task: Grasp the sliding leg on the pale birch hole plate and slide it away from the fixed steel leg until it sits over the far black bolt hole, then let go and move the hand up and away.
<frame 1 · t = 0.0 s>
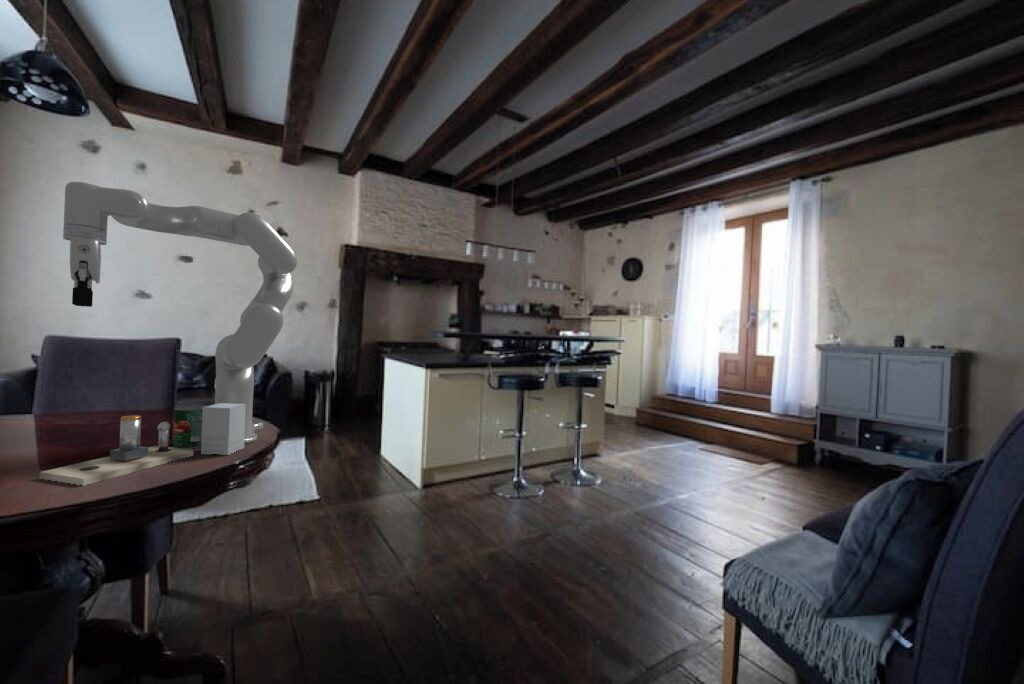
hand: (82, 305, 105), 37 cm above the table, tool pointing down, fingers open, 9 cm apart
hole plate: (124, 466, 100), on the table
supplement box: (222, 452, 116), on the table
canned tomato: (190, 446, 120), on the table
fixed leg: (162, 456, 109), resting on hole plate
sliding leg: (130, 436, 101), point 7 cm above the table, slide at 8.0 cm
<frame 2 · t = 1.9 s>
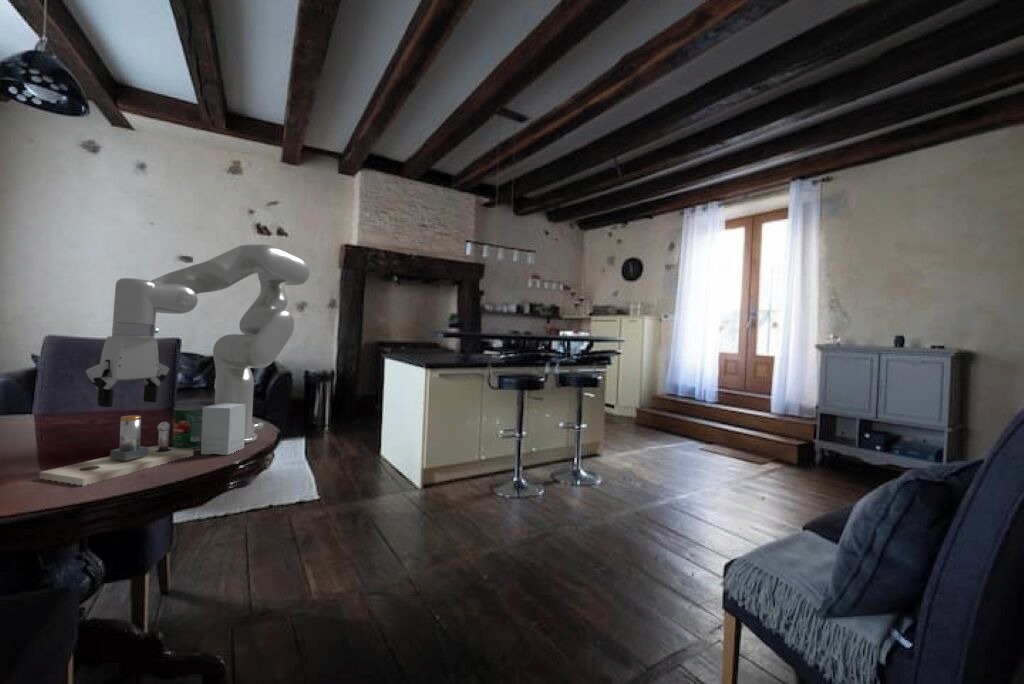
hand: (128, 404, 101), 15 cm above the table, tool pointing down, fingers open, 9 cm apart
nothing on the table moved.
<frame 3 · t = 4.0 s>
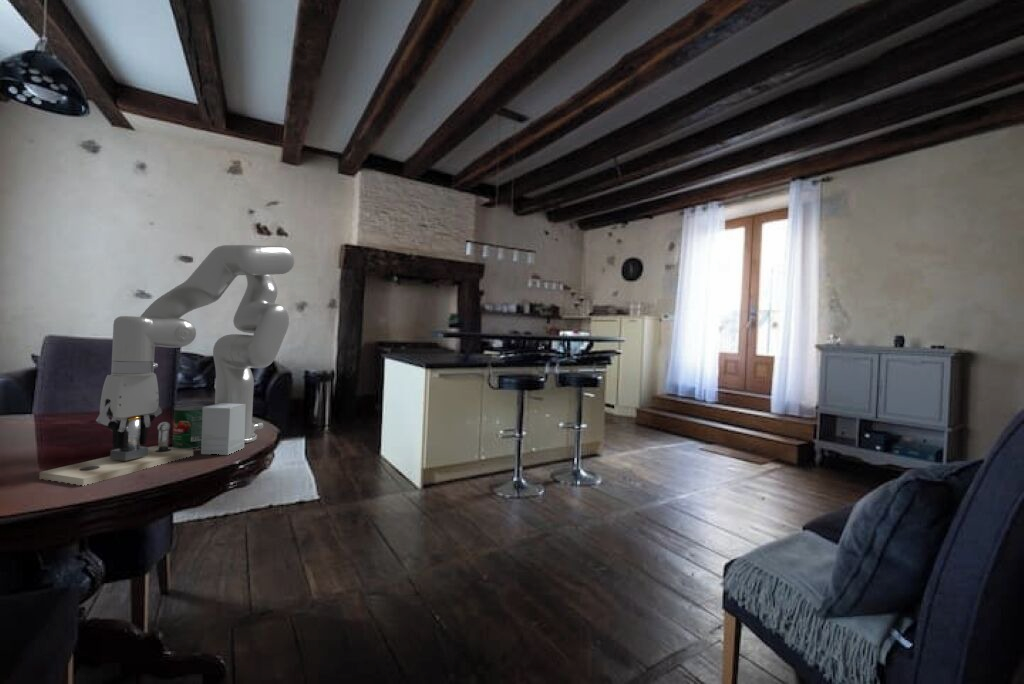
hand: (129, 445, 101), 5 cm above the table, tool pointing down, fingers closed on sliding leg, 3 cm apart
sliding leg: (130, 436, 101), point 7 cm above the table, slide at 8.0 cm, touching gripper
everything else where it was.
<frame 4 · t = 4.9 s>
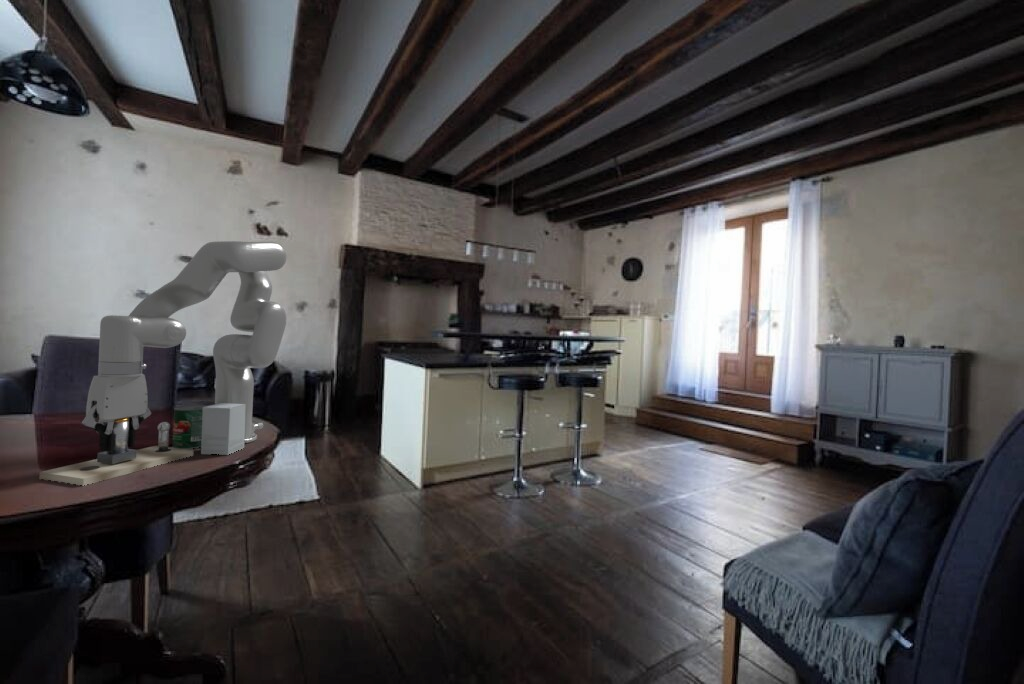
hand: (117, 447, 99), 5 cm above the table, tool pointing down, fingers closed on sliding leg, 3 cm apart
sliding leg: (117, 439, 99), point 7 cm above the table, slide at 10.6 cm, touching gripper
everything else where it was.
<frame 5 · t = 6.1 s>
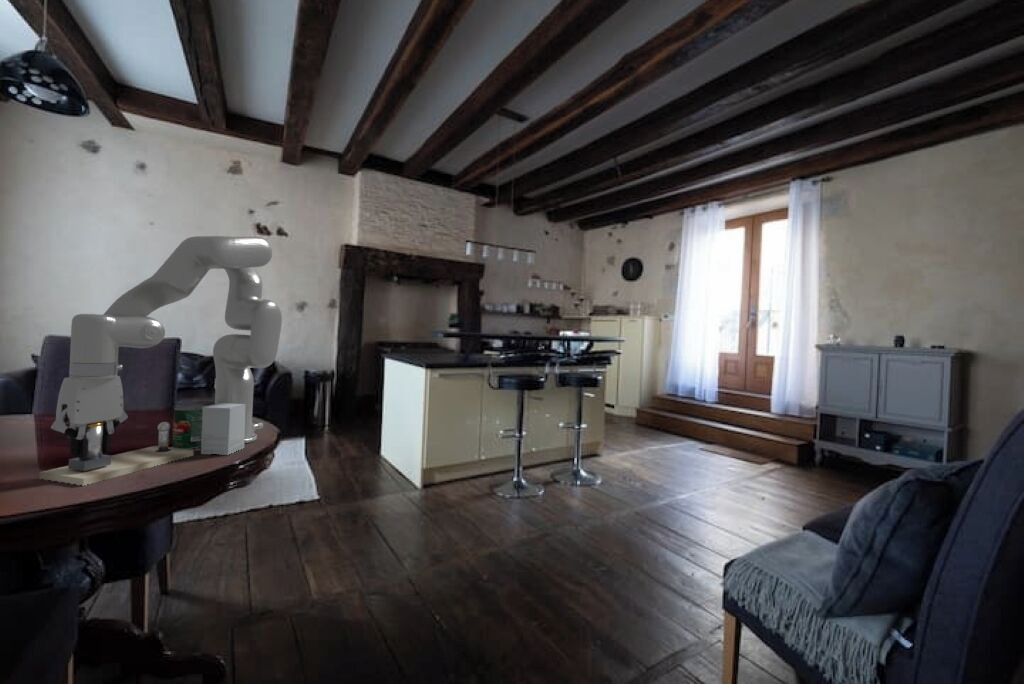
hand: (90, 453, 94), 5 cm above the table, tool pointing down, fingers closed on sliding leg, 3 cm apart
sliding leg: (91, 444, 94), point 7 cm above the table, slide at 15.9 cm, touching gripper
everything else where it was.
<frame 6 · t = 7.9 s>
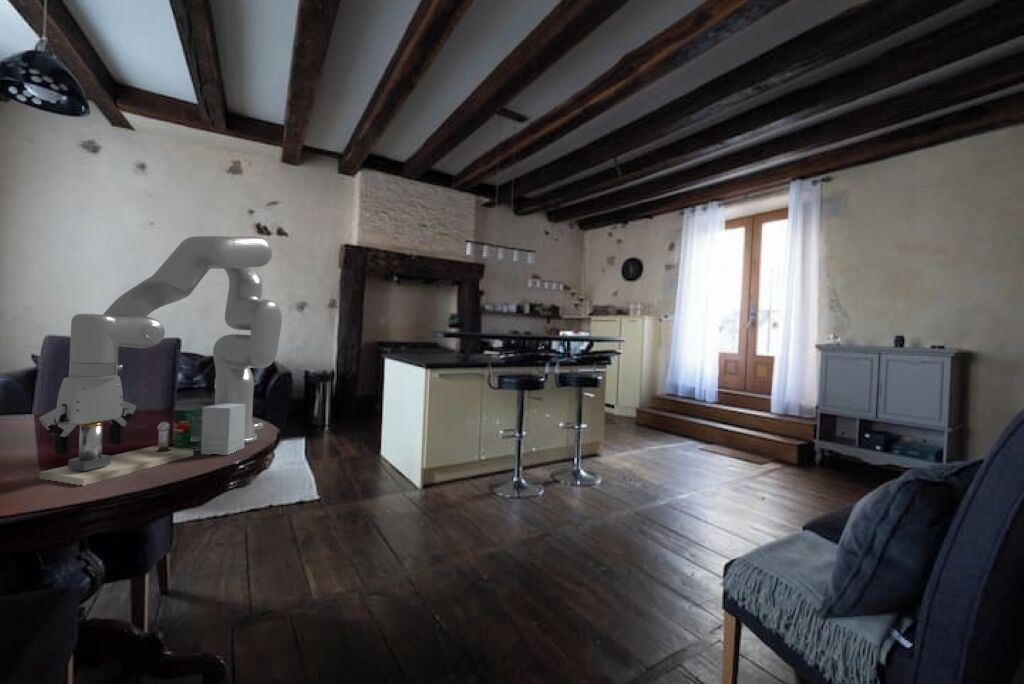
hand: (90, 448, 94), 6 cm above the table, tool pointing down, fingers open, 9 cm apart
sliding leg: (90, 444, 94), point 7 cm above the table, slide at 16.0 cm
everything else where it was.
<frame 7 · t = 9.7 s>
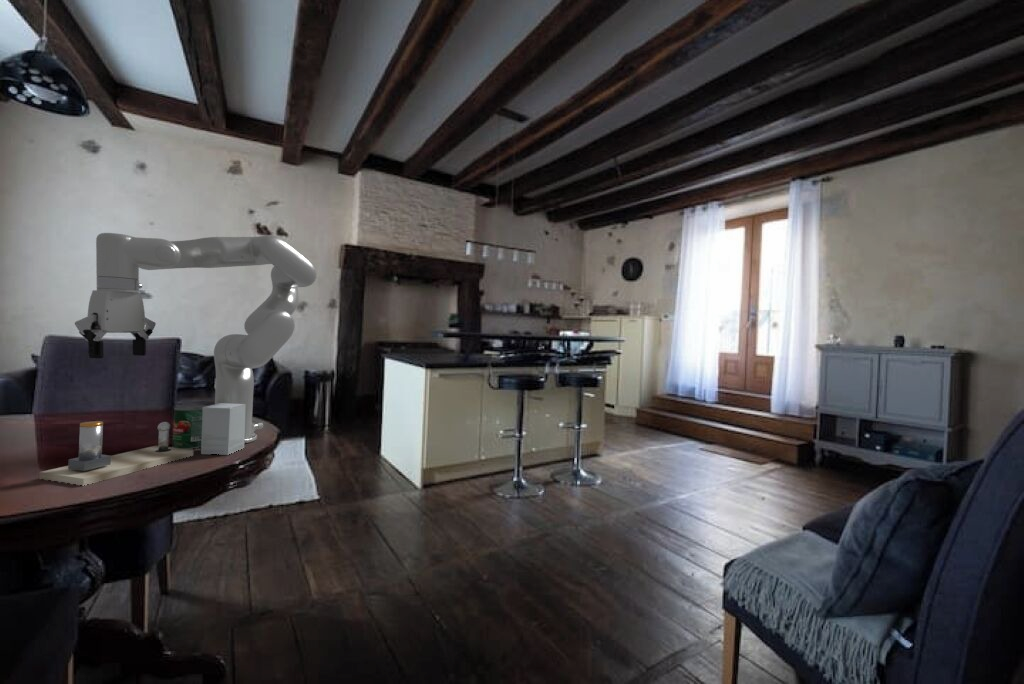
hand: (118, 356, 104), 25 cm above the table, tool pointing down, fingers open, 9 cm apart
nothing on the table moved.
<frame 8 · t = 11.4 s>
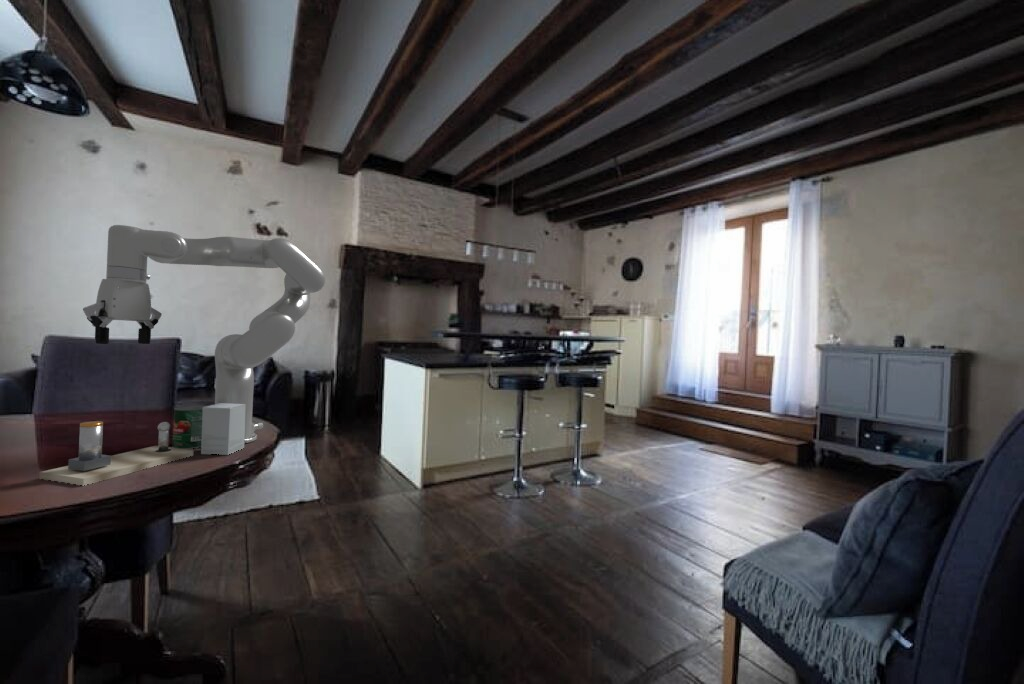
hand: (123, 343, 108), 28 cm above the table, tool pointing down, fingers open, 9 cm apart
nothing on the table moved.
at the end: sliding leg slide at 16.0 cm; the gripper is holding nothing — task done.
